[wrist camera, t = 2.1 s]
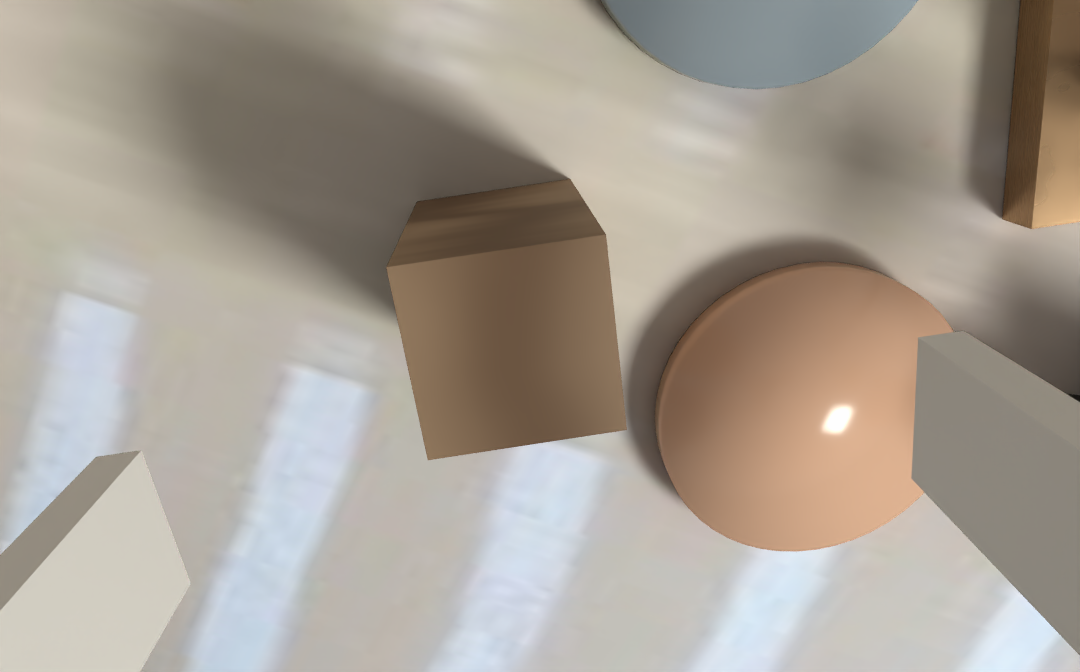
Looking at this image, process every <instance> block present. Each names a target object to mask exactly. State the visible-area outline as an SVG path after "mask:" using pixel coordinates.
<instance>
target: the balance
mask: <svg viewBox="0 0 1080 672" xmlns="http://www.w3.org/2000/svg"><path fill="white" fill-rule="evenodd" d="M1002 219H1003V220H1006V221H1009V222H1012V223H1015V224H1018V225H1021V226H1024V227H1027V228H1030V229H1035V228H1041V227H1048V226H1055V225H1061V224H1068V223H1075V222H1080V0H1021V1H1020V13H1019V25H1018V37H1017V49H1016V61H1015V73H1014V85H1013V97H1012V109H1011V121H1010V133H1009V145H1008V157H1007V169H1006V181H1005V193H1004V205H1003V217H1002Z"/></svg>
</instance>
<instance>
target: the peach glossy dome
mask: <svg viewBox="0 0 1080 672" xmlns="http://www.w3.org/2000/svg"><path fill="white" fill-rule="evenodd" d="M951 332H953V330H952V328H951V327H950V325H949V324H948V323H947V321H946V320H945V318H944V317H943V316H942V314H941V313H940V312H939V311H938V310H937V309H936V308H935V307H934V306H933V305H932V304H931V303H930V302H928V301H927V300H926V299H924V298H923V297H921V296H920V295H919V294H917V293H916V292H914V291H913V290H911V289H909V288H908V287H906V286H904V285H902V284H901V283H899V282H897V281H895V280H893V279H891V278H889V277H887V276H885V275H884V274H882V273H880V272H877V271H874V270H871V269H868V268H865V267H862V266H857V265H851V264H846V263H837V262H813V263H802V264H796V265H792V266H787V267H782V268H779V269H776V270H773V271H770V272H767V273H764V274H761V275H759V276H757V277H755V278H752V279H750V280H748V281H746V282H744V283H742V284H740V285H739V286H737V287H735V288H734V289H732V290H731V291H729V292H728V293H726V294H725V295H723V296H722V297H720V298H719V299H718V300H717V301H716V302H714V303H713V304H712V305H711V306H709V307H708V308H707V309H706V310H705V311H704V312H703V313H702V314H701V315H700V316H699V317H698V318H697V319H696V320H695V321H694V322H693V323H692V324H691V326H690V327H689V328H688V330H687V331H686V332H685V334H684V335H683V336H682V338H681V339H680V340H679V342H678V344H677V345H676V347H675V349H674V351H673V352H672V354H671V356H670V358H669V360H668V362H667V365H666V367H665V369H664V372H663V374H662V377H661V381H660V385H659V388H658V392H657V399H656V407H655V431H656V437H657V443H658V447H659V450H660V453H661V456H662V459H663V462H664V465H665V467H666V469H667V472H668V474H669V476H670V479H671V481H672V483H673V485H674V487H675V489H676V491H677V493H678V494H679V496H680V497H681V498H682V500H683V501H684V503H685V504H686V505H687V507H688V508H689V509H690V510H691V511H692V512H693V513H694V514H695V515H696V516H697V517H698V518H699V519H700V520H701V521H702V522H704V523H705V524H706V525H708V526H709V527H710V528H712V529H713V530H715V531H716V532H718V533H720V534H722V535H724V536H725V537H727V538H729V539H732V540H734V541H737V542H739V543H742V544H745V545H748V546H752V547H756V548H760V549H767V550H775V551H806V550H816V549H821V548H826V547H831V546H835V545H838V544H841V543H845V542H848V541H851V540H854V539H856V538H858V537H861V536H863V535H865V534H867V533H870V532H872V531H874V530H875V529H877V528H879V527H881V526H882V525H884V524H886V523H888V522H889V521H891V520H892V519H893V518H895V517H896V516H898V515H899V514H901V513H902V512H903V511H905V510H906V509H907V508H908V507H909V506H910V505H912V504H913V503H914V502H915V501H916V500H917V499H918V498H919V497H920V496H921V495H922V494H923V493H924V491H923V490H922V489H921V488H920V487H919V486H918V485H917V484H916V483H915V482H914V481H913V480H912V479H911V476H912V455H913V435H914V414H915V393H916V372H917V351H918V337H924V336H931V335H937V334H944V333H951Z"/></svg>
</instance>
